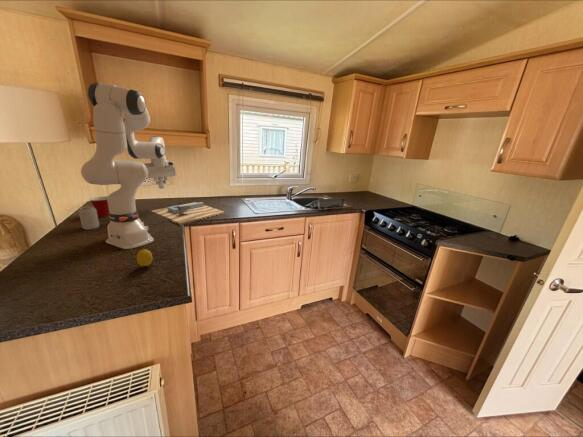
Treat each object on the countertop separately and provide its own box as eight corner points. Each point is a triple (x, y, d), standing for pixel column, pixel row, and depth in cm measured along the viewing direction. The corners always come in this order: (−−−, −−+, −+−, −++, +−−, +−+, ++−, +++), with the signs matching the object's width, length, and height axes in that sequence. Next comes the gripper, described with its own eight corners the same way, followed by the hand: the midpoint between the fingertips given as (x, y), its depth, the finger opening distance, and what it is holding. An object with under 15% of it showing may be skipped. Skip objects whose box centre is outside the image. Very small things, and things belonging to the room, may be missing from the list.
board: (224, 213, 173) (224, 211, 173) (180, 225, 147) (179, 222, 146) (195, 204, 191) (195, 202, 191) (151, 212, 164) (151, 210, 164)
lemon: (137, 271, 97) (134, 253, 94) (139, 264, 102) (136, 247, 99) (152, 268, 99) (150, 251, 96) (154, 262, 104) (152, 245, 101)
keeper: (190, 213, 163) (190, 206, 162) (181, 215, 158) (181, 208, 157) (187, 212, 166) (186, 205, 164) (178, 214, 160) (177, 207, 159)
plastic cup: (104, 212, 159) (101, 194, 155) (118, 214, 157) (115, 196, 153) (88, 217, 149) (84, 198, 145) (102, 219, 147) (99, 200, 143)
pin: (165, 188, 161) (163, 176, 159) (160, 188, 159) (159, 176, 157) (162, 187, 163) (161, 175, 160) (158, 187, 161) (156, 175, 158)
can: (79, 228, 132) (74, 207, 128) (93, 224, 139) (89, 204, 135) (88, 231, 130) (83, 209, 126) (102, 227, 136) (99, 206, 133)
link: (175, 213, 161) (174, 209, 160) (167, 210, 166) (167, 207, 165) (206, 206, 180) (206, 203, 180) (199, 204, 185) (198, 201, 184)
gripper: (144, 164, 146) (147, 186, 150) (176, 162, 162) (178, 183, 166) (139, 162, 149) (142, 185, 154) (171, 161, 165) (172, 181, 170)
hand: (161, 184), depth 160 cm, fingers closed on pin, 3 cm apart
